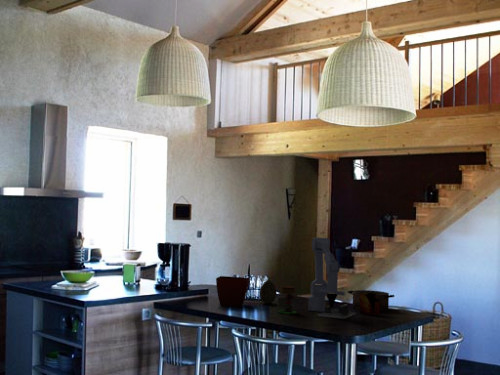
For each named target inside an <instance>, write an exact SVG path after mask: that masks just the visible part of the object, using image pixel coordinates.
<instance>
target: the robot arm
mask: <svg viewBox="0 0 500 375" xmlns="http://www.w3.org/2000/svg"><path fill="white" fill-rule="evenodd" d="M330 246H331V239H330V238H329V237H315V236H314V237H313V238H312V241H311V248H312V249H311V251H312V252H314V274H315V275H314V276H315V279H314V280H313V281H312V282H310V289H309V290H310V291H309V292H310V294H311V295H309V297H308V309H307V311H312V312H319V313H322V312H325V305H326V304H325V302H326V297H327V300H328V304H329V305H328V306H330V307H331V308H334V304H335V301H336V299H337V297H338V296H345V295H346V294H345V291H340V290H338V275H339V272H340V269H341V268H340V262H339V261H337V260H336V258H335V255H334V254H333V253H332V252H331V251H330ZM324 262H325V264H326V267H325V268H326V269H325V270H326V275H327V279H326V280H327V281H326V280H324Z"/></svg>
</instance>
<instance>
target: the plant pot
mask: <svg viewBox="0 0 500 375" xmlns="http://www.w3.org/2000/svg"><path fill="white" fill-rule="evenodd" d="M250 279H251V277H244V276H243V277H242V276H240V277H239V276H227V275H226V276H225V275H220V276H218V277H216V278H215V284H216V291H217V292H216V293H217V297H218V302H219V305H220V306H221V307H222V306H223V307H234V308H235V307H237V308H241V307H242V306H243V305H244V304H245V300H246V297H247V293H248V290H249V285H250V281H251V280H250Z"/></svg>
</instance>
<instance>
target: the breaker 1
mask: <svg viewBox="0 0 500 375" xmlns="http://www.w3.org/2000/svg"><path fill="white" fill-rule="evenodd" d="M338 309H339V313H343V314H344V313H345V306H342V305H339V306H338Z"/></svg>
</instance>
